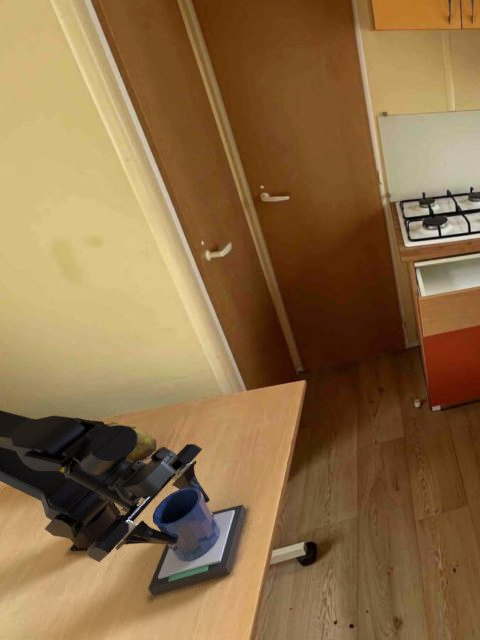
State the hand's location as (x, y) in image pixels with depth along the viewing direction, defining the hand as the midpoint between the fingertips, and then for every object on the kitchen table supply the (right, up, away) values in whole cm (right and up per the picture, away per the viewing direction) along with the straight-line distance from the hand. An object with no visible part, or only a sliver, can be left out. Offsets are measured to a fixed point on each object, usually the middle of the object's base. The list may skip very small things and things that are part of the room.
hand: (192, 521), depth 76 cm
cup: (-1, -6, +3) cm, 7 cm away
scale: (-1, -8, +5) cm, 10 cm away
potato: (-32, +1, +23) cm, 40 cm away
